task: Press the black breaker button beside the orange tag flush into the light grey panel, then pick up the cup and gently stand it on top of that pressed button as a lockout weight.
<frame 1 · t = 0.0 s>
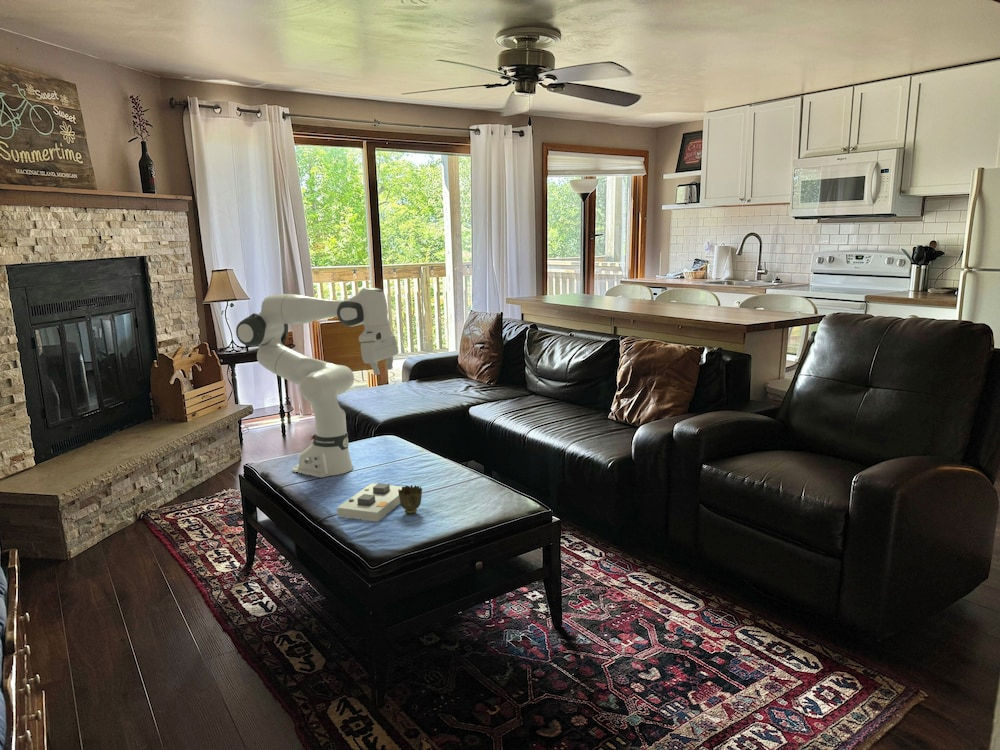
hand: (383, 371, 234), 39 cm above the table, tool pointing down, fingers open, 8 cm apart
breaker a: (366, 501, 208), point 3 cm above the table, slide at 0.0 cm
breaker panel: (374, 505, 214), on the table
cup: (411, 513, 208), on the table
breaker b: (381, 490, 218), point 3 cm above the table, slide at 0.0 cm
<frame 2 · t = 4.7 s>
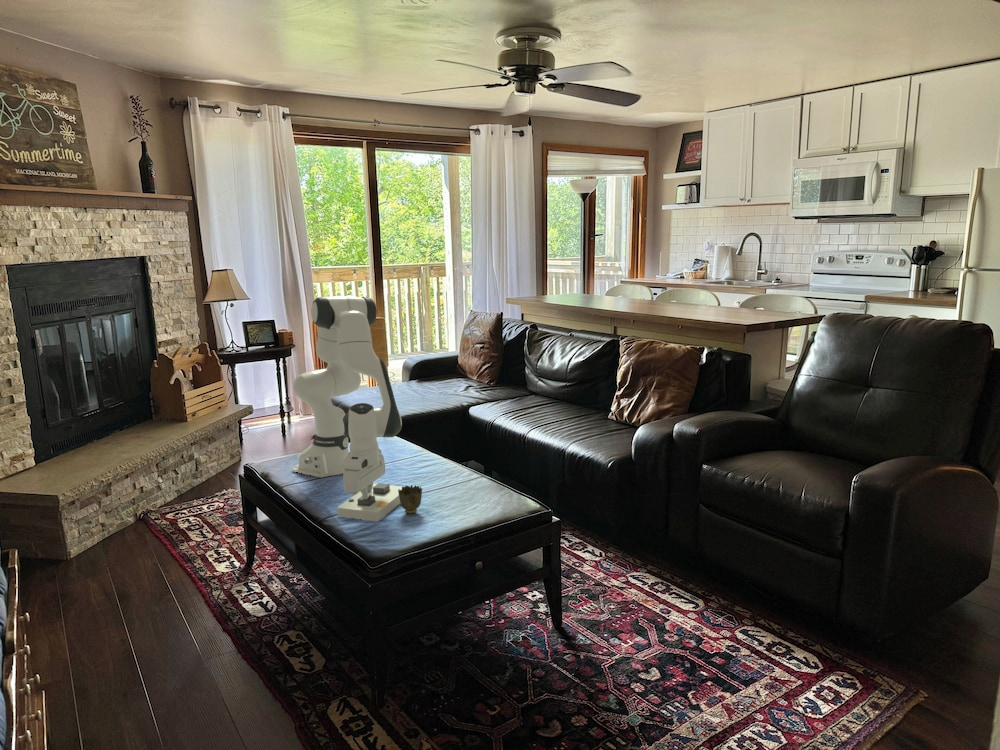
hand: (367, 497, 208), 5 cm above the table, tool pointing down, fingers closed, pressing on breaker a
breaker a: (366, 502, 208), point 3 cm above the table, slide at 0.3 cm, touching gripper
everything else where it was.
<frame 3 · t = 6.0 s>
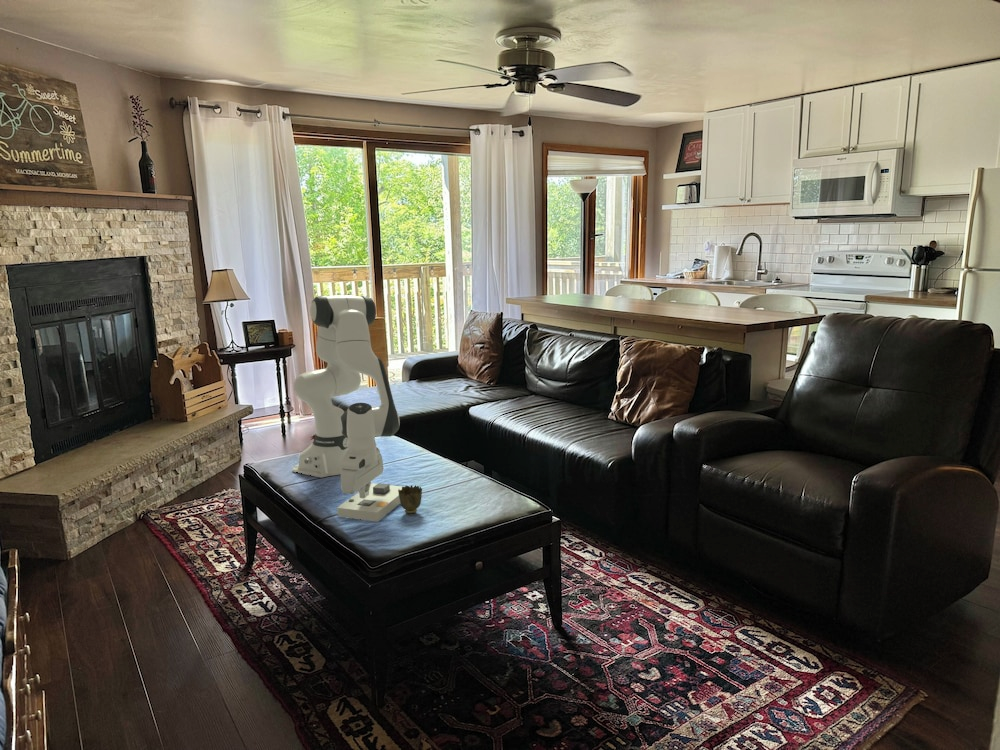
hand: (364, 496, 208), 5 cm above the table, tool pointing down, fingers closed
breaker a: (366, 507, 209), point 2 cm above the table, slide at 1.8 cm
everything else where it was.
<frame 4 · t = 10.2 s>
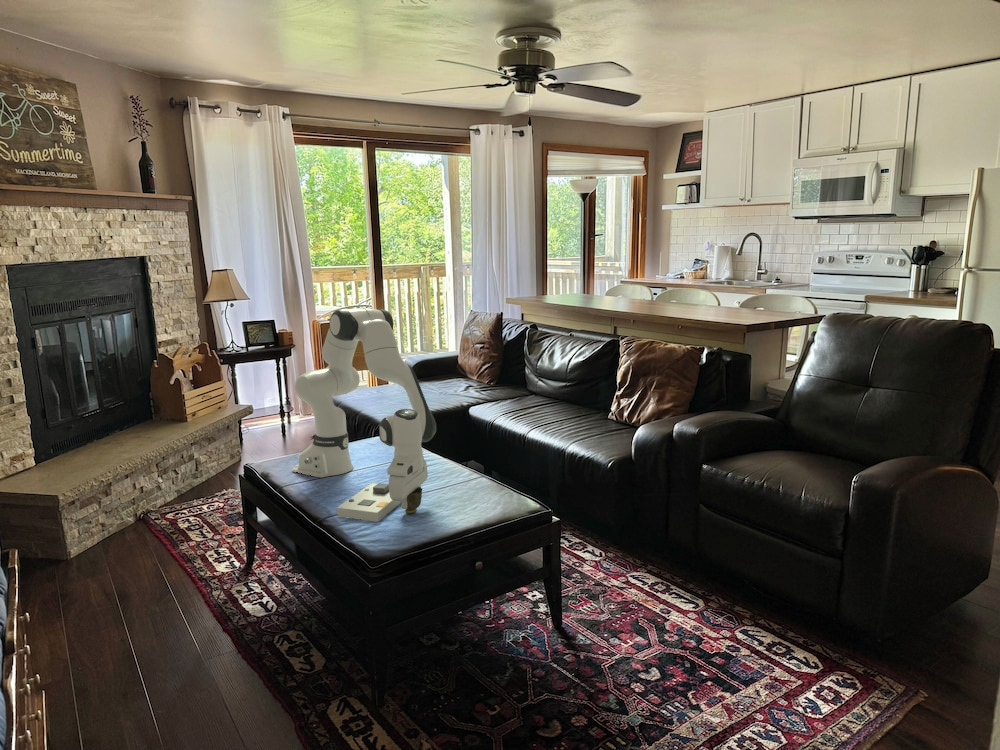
hand: (410, 503, 207), 3 cm above the table, tool pointing down, fingers closed on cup, 6 cm apart
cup: (411, 513, 208), on the table, touching gripper
everything else where it was.
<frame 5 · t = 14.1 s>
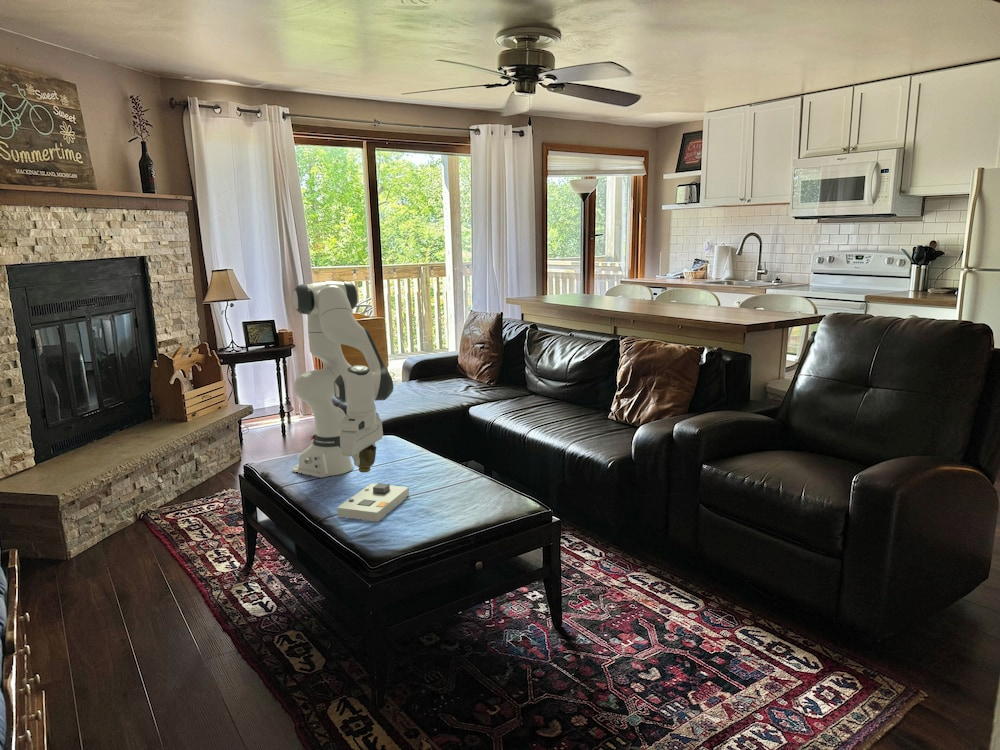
hand: (364, 461, 206), 17 cm above the table, tool pointing down, fingers closed on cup, 6 cm apart
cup: (364, 472, 206), point 13 cm above the table, touching gripper
everything else where it was.
when the fingers open (7 cm above the table, at t = 17.8 s): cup moves 1 cm, resting on breaker a.
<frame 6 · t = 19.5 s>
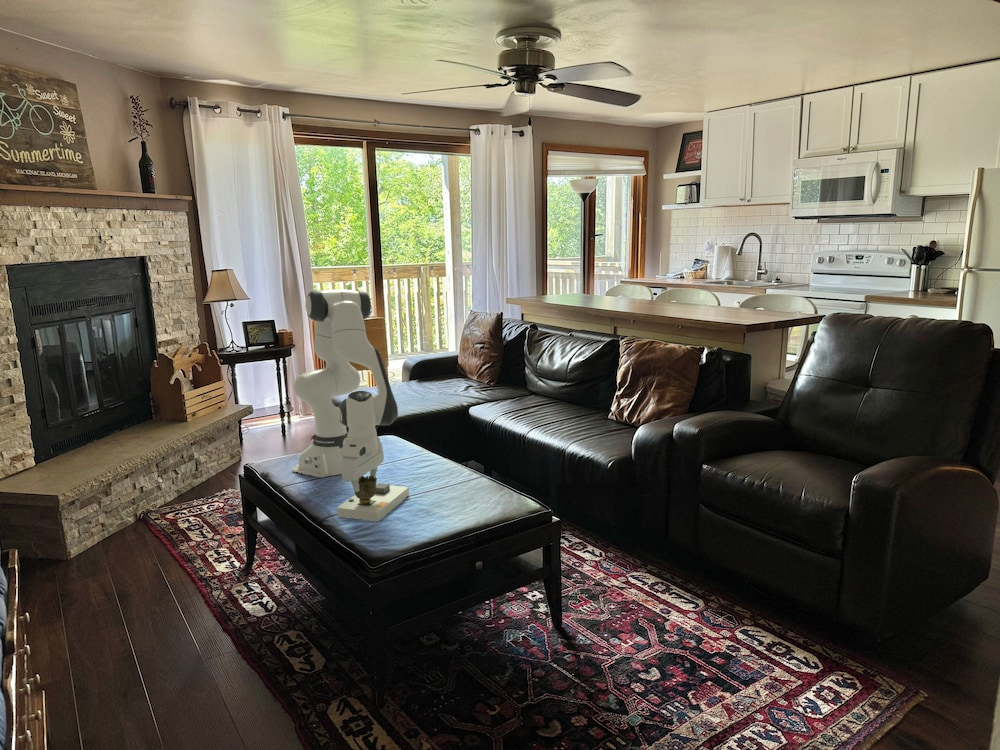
hand: (365, 485, 207), 9 cm above the table, tool pointing down, fingers open, 8 cm apart
breaker a: (366, 507, 209), point 2 cm above the table, slide at 1.8 cm, touching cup
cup: (365, 503, 207), point 3 cm above the table, touching breaker a
everything else where it was.
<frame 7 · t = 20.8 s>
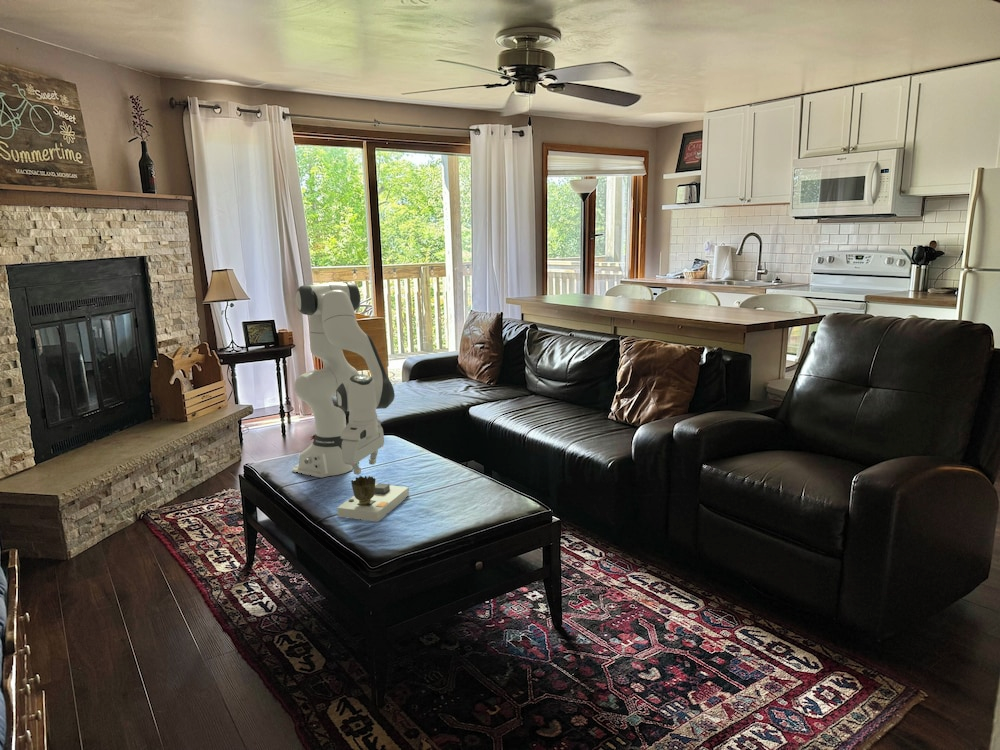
hand: (365, 468, 209), 14 cm above the table, tool pointing down, fingers open, 8 cm apart
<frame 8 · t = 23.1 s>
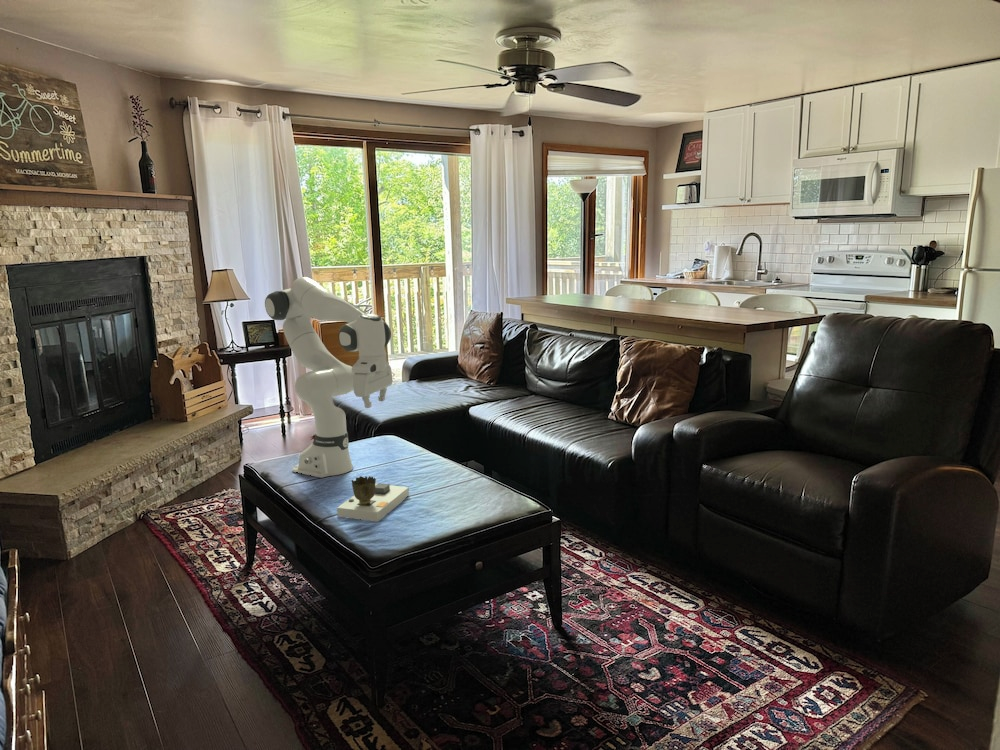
hand: (375, 404, 219), 31 cm above the table, tool pointing down, fingers open, 8 cm apart
nothing on the table moved.
at the end: breaker a slide at 1.8 cm; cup 1.1 cm from the target spot, point 3.0 cm above the table; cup tilted 0° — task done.
